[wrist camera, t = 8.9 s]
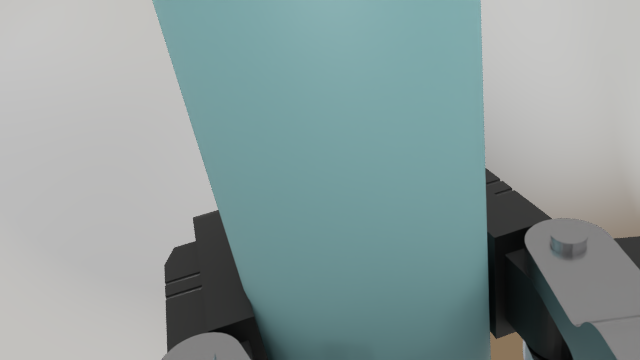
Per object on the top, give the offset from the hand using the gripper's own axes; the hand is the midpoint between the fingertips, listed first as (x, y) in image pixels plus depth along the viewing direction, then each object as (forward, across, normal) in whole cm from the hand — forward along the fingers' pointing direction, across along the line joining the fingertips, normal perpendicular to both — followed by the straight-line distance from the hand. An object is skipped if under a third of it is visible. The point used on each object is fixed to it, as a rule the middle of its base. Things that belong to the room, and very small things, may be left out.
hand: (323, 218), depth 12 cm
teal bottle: (-3, 0, +8) cm, 9 cm away
